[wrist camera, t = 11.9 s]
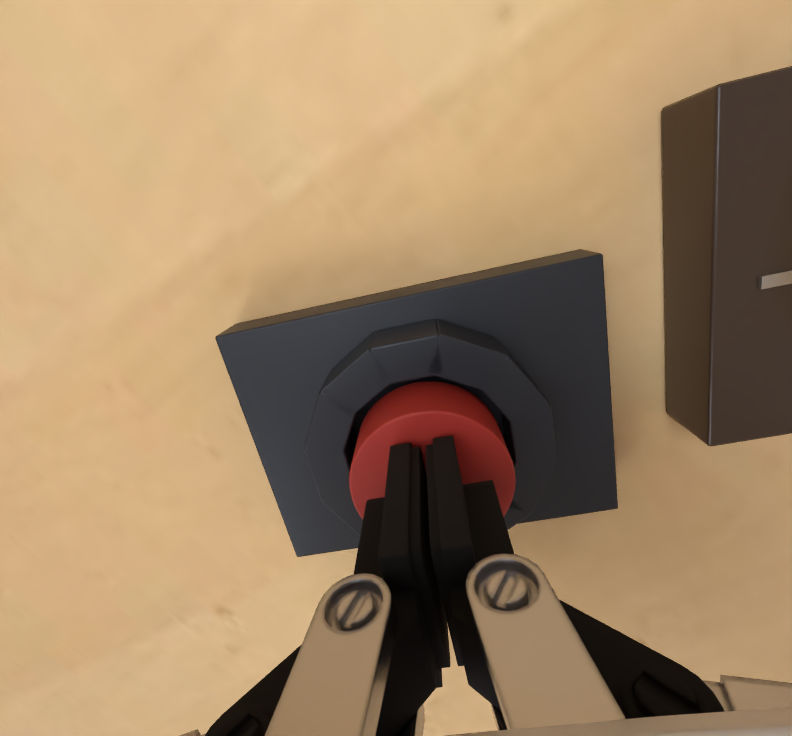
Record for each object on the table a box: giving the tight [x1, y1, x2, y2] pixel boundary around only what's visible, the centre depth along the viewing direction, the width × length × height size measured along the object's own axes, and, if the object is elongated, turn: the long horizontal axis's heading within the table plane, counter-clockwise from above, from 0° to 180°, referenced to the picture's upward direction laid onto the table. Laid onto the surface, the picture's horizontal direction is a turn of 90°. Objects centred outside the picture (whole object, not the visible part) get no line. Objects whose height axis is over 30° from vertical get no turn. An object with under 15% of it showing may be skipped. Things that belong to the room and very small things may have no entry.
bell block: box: [216, 249, 618, 557], centre depth 14 cm, size 12×9×4 cm
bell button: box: [349, 381, 516, 519], centre depth 12 cm, size 4×4×2 cm
